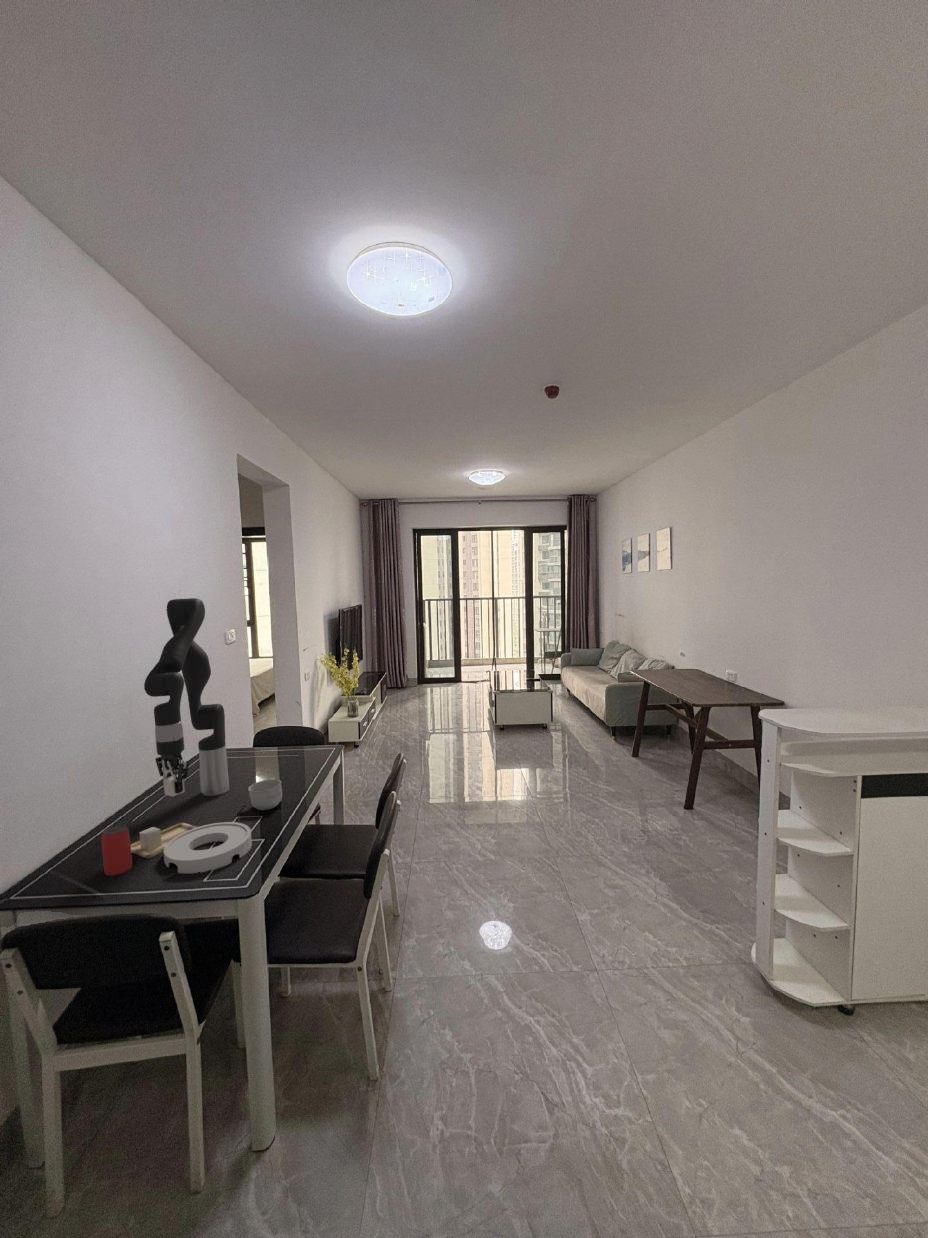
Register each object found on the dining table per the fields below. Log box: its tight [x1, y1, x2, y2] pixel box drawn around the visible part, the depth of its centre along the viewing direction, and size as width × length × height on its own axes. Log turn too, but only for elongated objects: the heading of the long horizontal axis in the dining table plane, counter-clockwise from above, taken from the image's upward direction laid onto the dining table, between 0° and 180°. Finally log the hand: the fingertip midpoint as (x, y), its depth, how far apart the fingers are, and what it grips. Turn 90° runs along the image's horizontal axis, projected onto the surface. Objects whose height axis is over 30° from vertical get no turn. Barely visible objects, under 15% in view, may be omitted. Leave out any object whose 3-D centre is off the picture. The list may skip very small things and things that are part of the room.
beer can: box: [101, 824, 133, 876], centre depth 151 cm, size 7×7×12 cm
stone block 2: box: [162, 774, 186, 797], centre depth 170 cm, size 4×4×5 cm
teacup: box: [247, 777, 283, 811], centre depth 192 cm, size 14×11×8 cm
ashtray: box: [163, 821, 253, 874], centre depth 160 cm, size 23×23×4 cm
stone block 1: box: [139, 826, 162, 851], centre depth 163 cm, size 4×4×5 cm
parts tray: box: [130, 821, 198, 859], centre depth 167 cm, size 12×18×1 cm, turn 150°
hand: (174, 791), depth 170 cm, fingers closed on stone block 2, 4 cm apart
